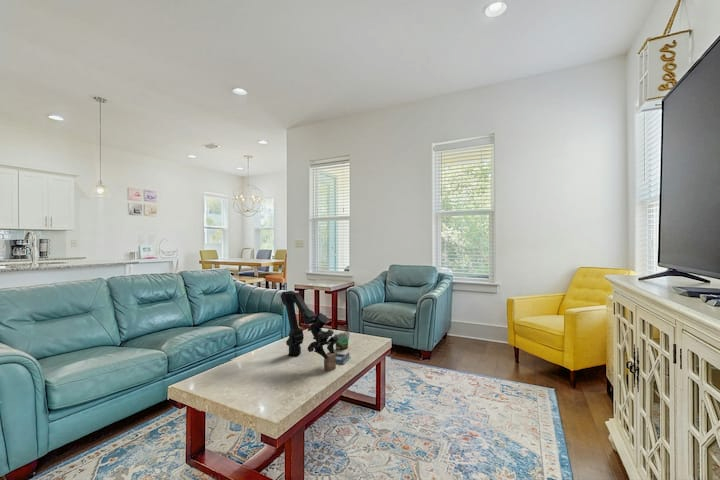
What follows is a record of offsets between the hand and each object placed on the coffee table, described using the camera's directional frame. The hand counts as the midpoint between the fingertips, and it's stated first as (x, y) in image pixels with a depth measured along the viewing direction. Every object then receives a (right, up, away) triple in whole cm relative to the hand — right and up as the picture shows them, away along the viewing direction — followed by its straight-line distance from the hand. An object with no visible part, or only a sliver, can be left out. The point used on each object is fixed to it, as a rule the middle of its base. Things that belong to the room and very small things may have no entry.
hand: (330, 357), depth 180 cm
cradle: (+4, -7, +14) cm, 16 cm away
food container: (+6, -7, +35) cm, 36 cm away
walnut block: (0, -7, 0) cm, 7 cm away
